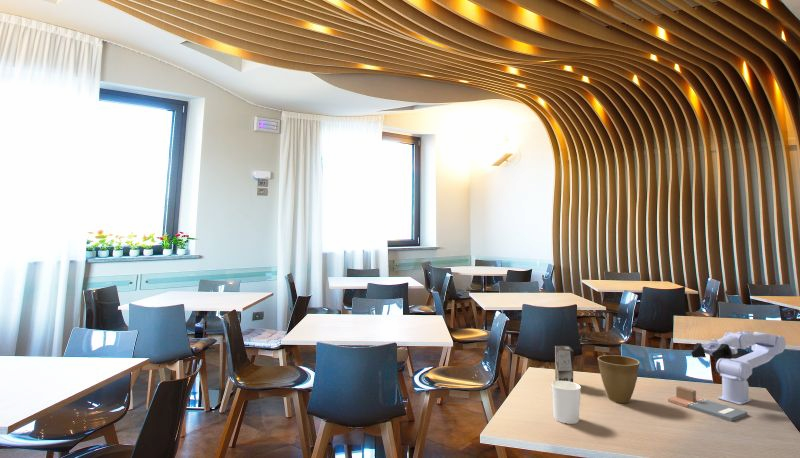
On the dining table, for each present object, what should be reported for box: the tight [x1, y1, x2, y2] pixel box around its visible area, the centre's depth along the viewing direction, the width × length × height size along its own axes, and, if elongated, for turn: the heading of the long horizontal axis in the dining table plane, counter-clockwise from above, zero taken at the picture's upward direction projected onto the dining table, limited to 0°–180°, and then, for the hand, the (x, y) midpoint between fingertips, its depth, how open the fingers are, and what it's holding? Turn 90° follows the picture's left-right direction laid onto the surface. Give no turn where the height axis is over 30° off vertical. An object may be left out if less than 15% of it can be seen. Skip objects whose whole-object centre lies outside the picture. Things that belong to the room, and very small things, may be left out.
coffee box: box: [554, 345, 574, 383], centre depth 192 cm, size 9×6×16 cm
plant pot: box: [597, 354, 640, 404], centre depth 173 cm, size 15×15×16 cm
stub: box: [667, 385, 705, 408], centre depth 172 cm, size 12×7×5 cm, turn 119°
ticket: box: [688, 399, 748, 422], centre depth 162 cm, size 12×14×1 cm
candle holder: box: [550, 381, 582, 425], centre depth 154 cm, size 10×10×12 cm
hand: (702, 355), depth 166 cm, fingers open, 7 cm apart
